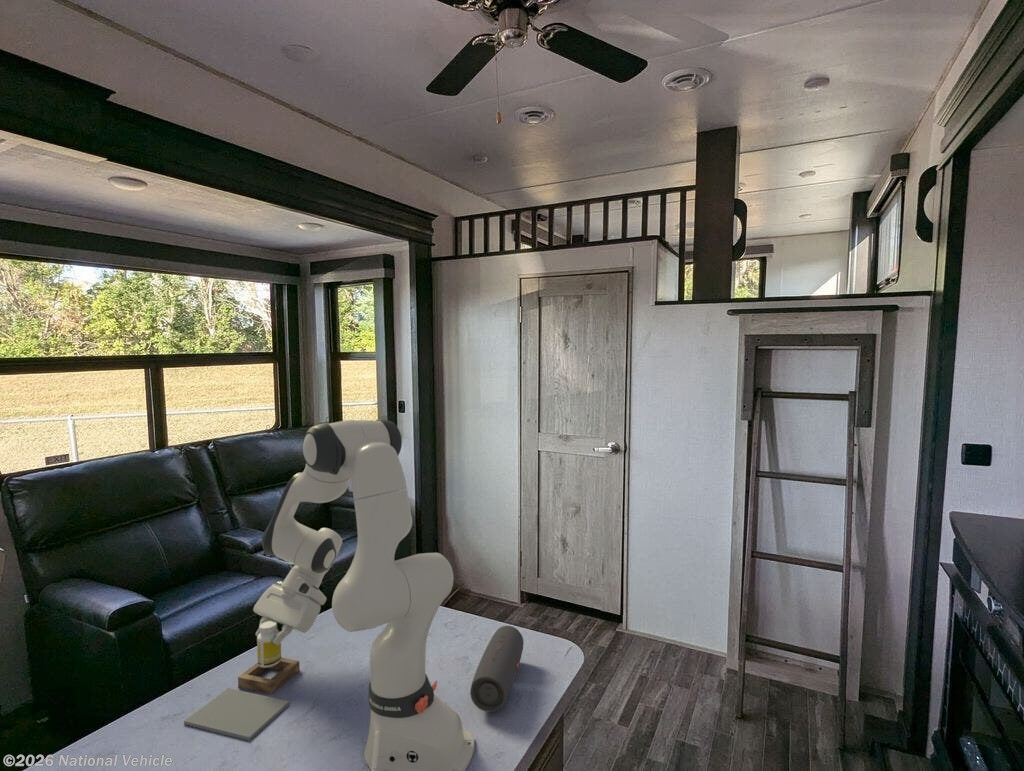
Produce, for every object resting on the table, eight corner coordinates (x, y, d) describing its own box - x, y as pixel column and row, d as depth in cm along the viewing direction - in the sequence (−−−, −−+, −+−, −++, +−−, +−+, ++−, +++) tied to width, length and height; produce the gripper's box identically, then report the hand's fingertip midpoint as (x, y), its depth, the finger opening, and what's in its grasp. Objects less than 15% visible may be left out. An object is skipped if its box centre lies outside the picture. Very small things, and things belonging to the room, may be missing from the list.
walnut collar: (299, 670, 133) (299, 660, 133) (271, 694, 124) (270, 683, 124) (268, 664, 136) (268, 654, 136) (238, 686, 127) (237, 677, 127)
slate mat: (289, 704, 120) (289, 701, 120) (249, 740, 108) (249, 737, 108) (228, 691, 125) (228, 688, 125) (184, 724, 114) (184, 721, 114)
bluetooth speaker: (508, 720, 114) (508, 676, 113) (468, 715, 116) (467, 672, 115) (526, 661, 136) (525, 625, 136) (492, 658, 138) (491, 621, 137)
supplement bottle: (286, 657, 132) (284, 620, 131) (270, 670, 126) (269, 631, 126) (268, 655, 133) (267, 618, 133) (252, 666, 128) (251, 628, 127)
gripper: (268, 574, 140) (234, 625, 132) (315, 590, 130) (282, 646, 122) (283, 584, 144) (251, 634, 136) (331, 600, 133) (299, 655, 126)
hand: (266, 640), depth 129 cm, fingers closed on supplement bottle, 5 cm apart
